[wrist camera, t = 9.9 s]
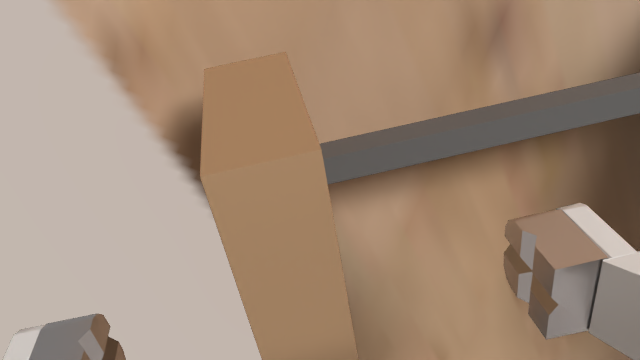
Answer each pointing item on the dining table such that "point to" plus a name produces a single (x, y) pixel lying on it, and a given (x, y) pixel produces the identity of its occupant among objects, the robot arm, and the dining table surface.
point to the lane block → (326, 168)
